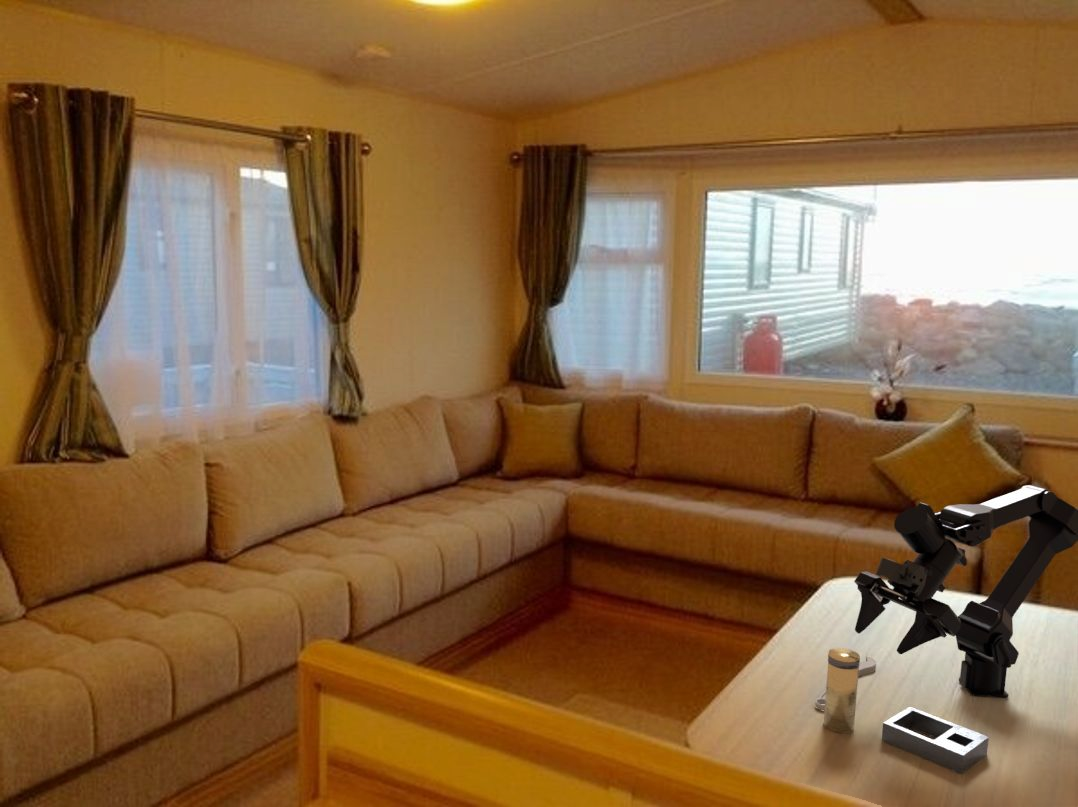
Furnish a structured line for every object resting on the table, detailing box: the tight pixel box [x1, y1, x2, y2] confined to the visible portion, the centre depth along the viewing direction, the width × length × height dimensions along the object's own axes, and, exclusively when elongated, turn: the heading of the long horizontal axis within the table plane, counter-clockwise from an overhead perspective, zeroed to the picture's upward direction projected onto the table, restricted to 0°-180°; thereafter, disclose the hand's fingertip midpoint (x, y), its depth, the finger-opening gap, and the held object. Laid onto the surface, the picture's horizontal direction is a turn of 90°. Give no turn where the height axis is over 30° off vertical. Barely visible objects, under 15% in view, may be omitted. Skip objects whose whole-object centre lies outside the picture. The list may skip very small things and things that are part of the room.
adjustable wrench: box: [814, 655, 877, 711], centre depth 168 cm, size 25×6×2 cm, turn 141°
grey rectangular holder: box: [881, 706, 990, 775], centre depth 146 cm, size 13×9×3 cm
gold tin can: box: [822, 647, 861, 734], centre depth 151 cm, size 5×5×12 cm
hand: (877, 642), depth 154 cm, fingers open, 9 cm apart
